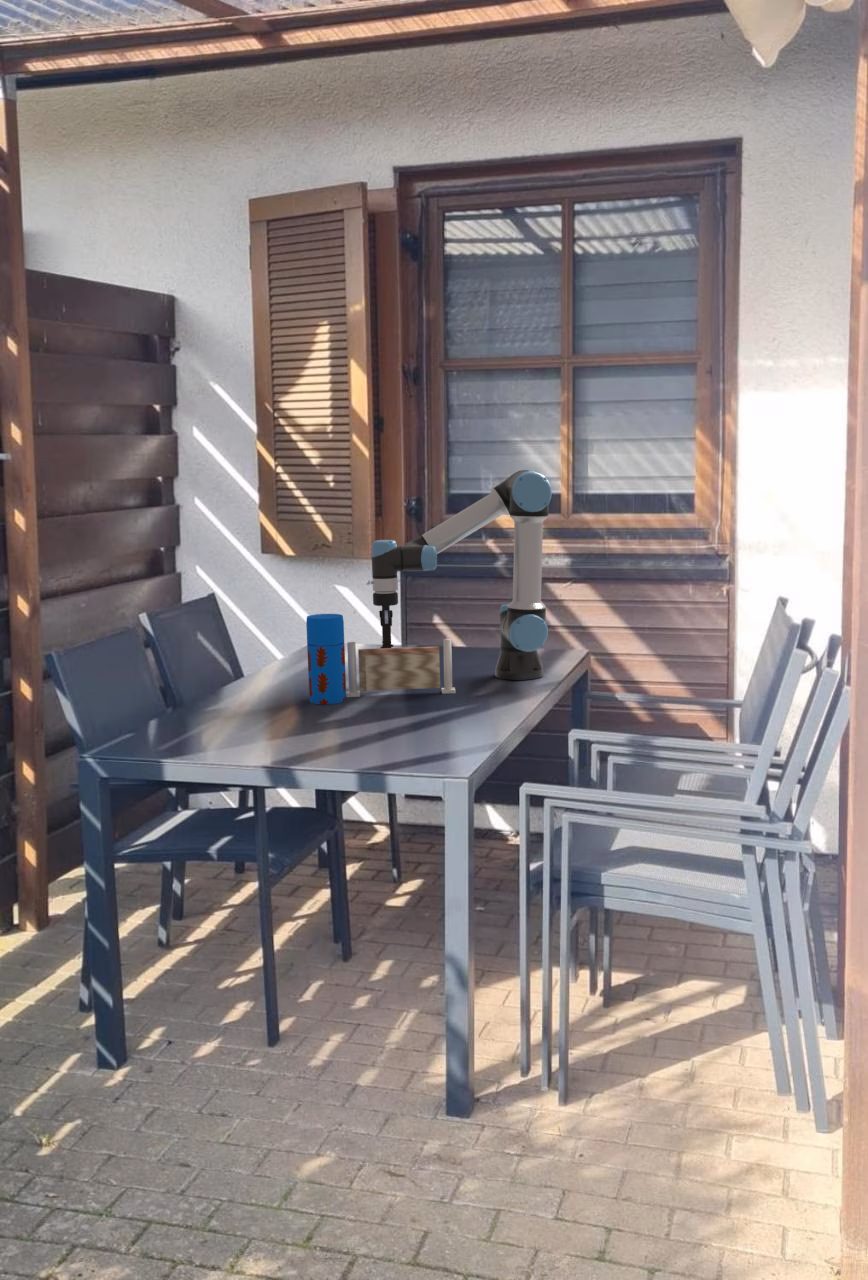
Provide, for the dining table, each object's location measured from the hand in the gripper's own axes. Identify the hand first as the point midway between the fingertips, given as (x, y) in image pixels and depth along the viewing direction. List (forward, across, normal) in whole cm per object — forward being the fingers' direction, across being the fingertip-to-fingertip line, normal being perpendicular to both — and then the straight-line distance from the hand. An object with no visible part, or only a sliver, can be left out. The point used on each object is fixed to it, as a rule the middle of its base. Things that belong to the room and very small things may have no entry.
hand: (387, 669), depth 417 cm
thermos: (+7, +13, -18) cm, 23 cm away
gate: (+5, +7, +3) cm, 9 cm away
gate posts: (+6, +7, +4) cm, 10 cm away
